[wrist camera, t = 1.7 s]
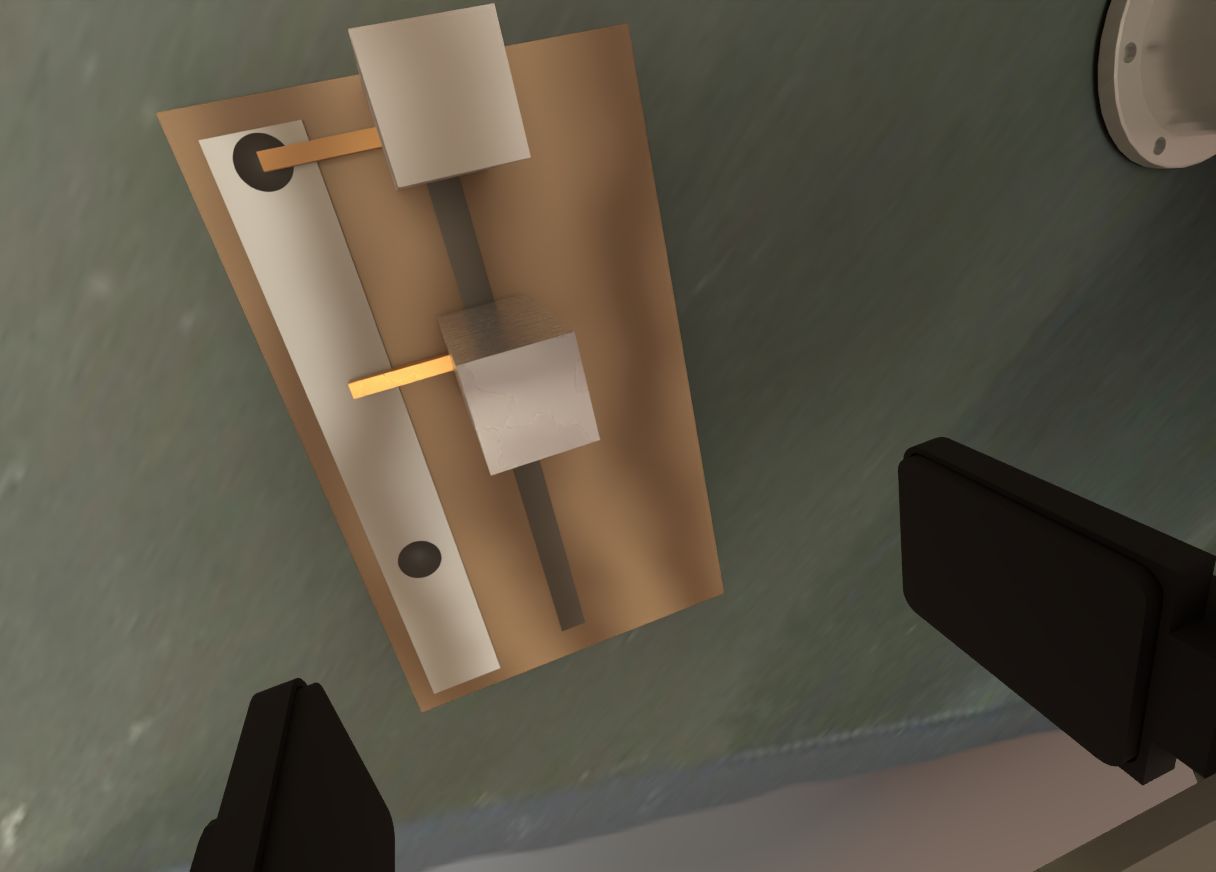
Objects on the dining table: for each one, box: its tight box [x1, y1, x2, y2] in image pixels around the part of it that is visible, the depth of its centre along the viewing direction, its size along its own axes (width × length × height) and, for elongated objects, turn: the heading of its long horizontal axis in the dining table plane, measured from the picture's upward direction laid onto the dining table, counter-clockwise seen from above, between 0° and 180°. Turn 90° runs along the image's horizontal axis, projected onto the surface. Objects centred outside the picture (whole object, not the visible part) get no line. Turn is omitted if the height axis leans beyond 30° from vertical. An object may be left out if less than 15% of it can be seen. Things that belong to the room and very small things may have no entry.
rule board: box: [156, 3, 724, 712], centre depth 24 cm, size 16×26×10 cm, turn 13°
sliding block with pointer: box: [348, 294, 600, 475], centre depth 22 cm, size 7×3×8 cm, turn 103°
